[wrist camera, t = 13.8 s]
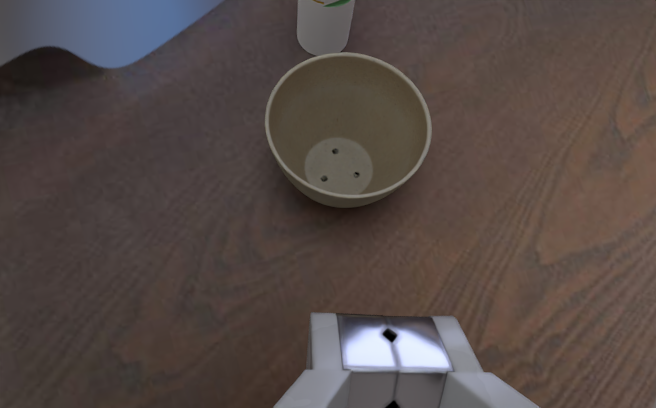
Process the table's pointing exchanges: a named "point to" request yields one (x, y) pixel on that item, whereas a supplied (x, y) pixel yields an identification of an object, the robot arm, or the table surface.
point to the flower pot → (347, 128)
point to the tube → (324, 25)
